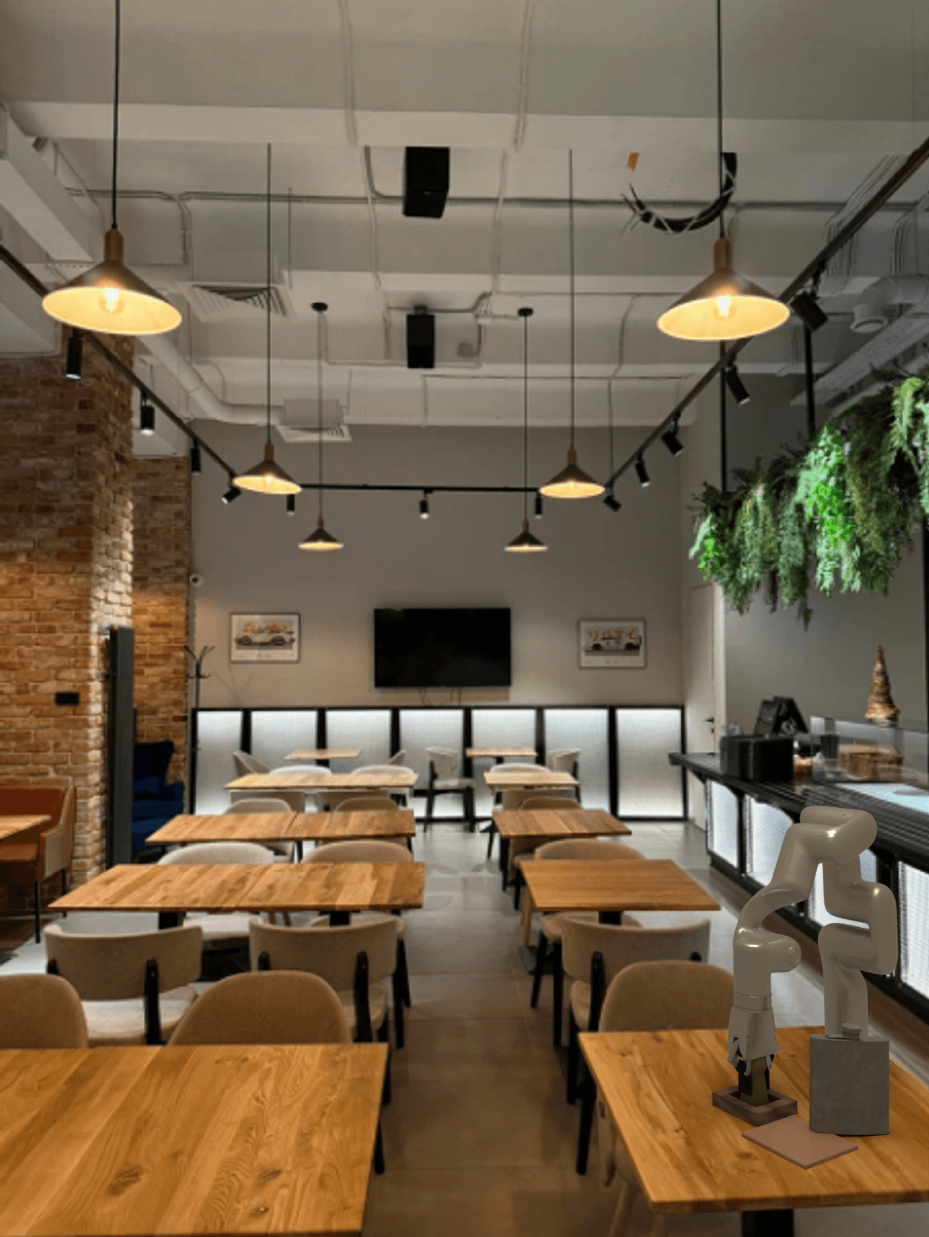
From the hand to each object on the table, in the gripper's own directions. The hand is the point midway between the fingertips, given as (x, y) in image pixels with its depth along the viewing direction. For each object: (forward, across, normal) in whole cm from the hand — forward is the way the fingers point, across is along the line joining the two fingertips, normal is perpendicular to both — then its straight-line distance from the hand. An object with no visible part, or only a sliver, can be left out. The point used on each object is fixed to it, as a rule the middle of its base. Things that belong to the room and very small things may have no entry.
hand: (754, 1089), depth 195 cm
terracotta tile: (+4, +4, +14) cm, 16 cm away
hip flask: (+4, -8, +17) cm, 19 cm away
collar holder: (+4, 0, 0) cm, 4 cm away
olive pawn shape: (+4, 0, 0) cm, 4 cm away
